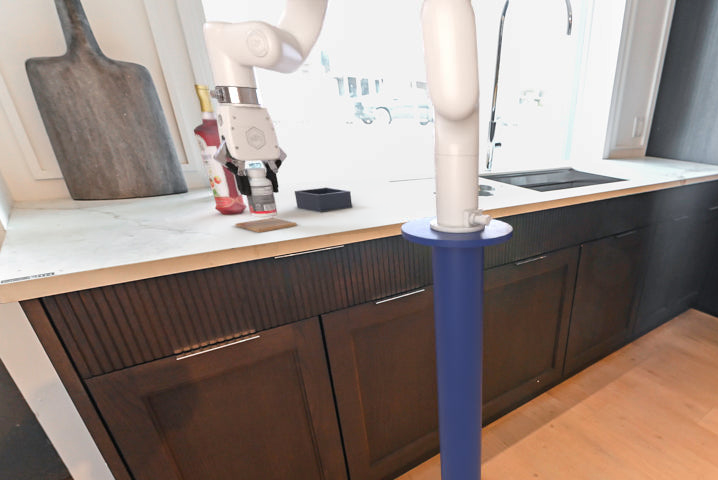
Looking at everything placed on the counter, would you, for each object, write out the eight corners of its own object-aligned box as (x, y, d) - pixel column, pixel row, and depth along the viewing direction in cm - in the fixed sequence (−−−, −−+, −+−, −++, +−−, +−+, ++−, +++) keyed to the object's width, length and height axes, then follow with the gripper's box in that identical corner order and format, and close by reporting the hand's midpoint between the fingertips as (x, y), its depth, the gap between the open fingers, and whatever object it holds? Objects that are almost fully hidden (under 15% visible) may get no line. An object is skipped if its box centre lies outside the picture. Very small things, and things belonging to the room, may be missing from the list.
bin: (352, 207, 119) (350, 191, 118) (321, 212, 112) (318, 195, 110) (328, 202, 124) (326, 187, 122) (297, 207, 117) (294, 191, 115)
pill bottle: (251, 213, 96) (241, 167, 92) (277, 212, 98) (268, 167, 94) (250, 218, 92) (239, 170, 87) (278, 216, 94) (268, 169, 89)
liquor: (254, 212, 109) (226, 86, 96) (224, 216, 103) (191, 83, 91) (239, 209, 112) (210, 86, 100) (209, 212, 107) (175, 84, 94)
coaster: (296, 225, 97) (296, 222, 97) (258, 232, 90) (258, 229, 90) (273, 220, 101) (273, 217, 101) (235, 226, 94) (235, 223, 94)
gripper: (203, 95, 76) (229, 200, 84) (290, 101, 89) (305, 191, 97) (183, 95, 80) (209, 195, 88) (270, 101, 93) (286, 188, 101)
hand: (259, 192), depth 93 cm, fingers closed on pill bottle, 5 cm apart
